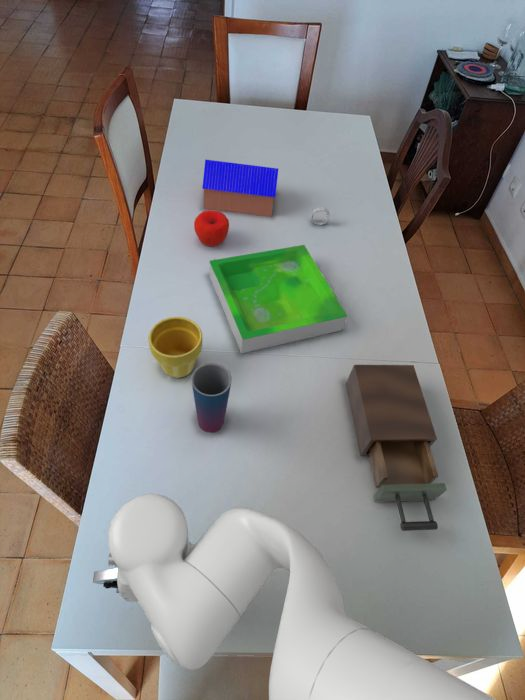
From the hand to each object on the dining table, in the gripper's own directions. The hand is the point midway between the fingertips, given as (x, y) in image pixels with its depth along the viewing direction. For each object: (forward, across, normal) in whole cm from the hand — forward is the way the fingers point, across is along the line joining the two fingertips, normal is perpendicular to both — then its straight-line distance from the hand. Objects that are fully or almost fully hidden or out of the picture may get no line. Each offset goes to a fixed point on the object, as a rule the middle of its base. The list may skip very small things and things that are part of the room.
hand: (165, 585), depth 66 cm
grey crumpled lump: (+7, +37, +93) cm, 100 cm away
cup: (+6, +6, +30) cm, 31 cm away
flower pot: (+6, -1, +43) cm, 44 cm away
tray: (+6, +21, +62) cm, 66 cm away
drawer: (+5, +41, +18) cm, 45 cm away
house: (+7, +14, +102) cm, 103 cm away
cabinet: (+6, +41, +30) cm, 52 cm away
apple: (+7, +6, +83) cm, 83 cm away
